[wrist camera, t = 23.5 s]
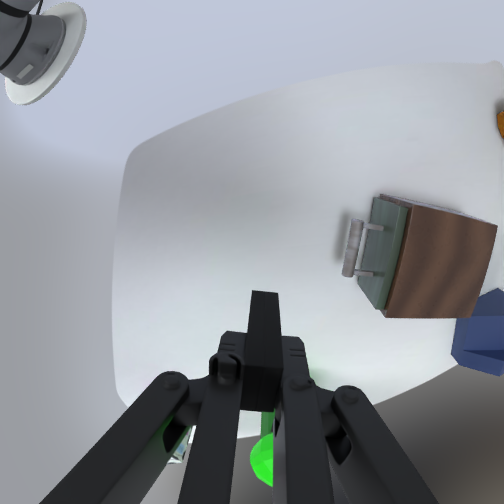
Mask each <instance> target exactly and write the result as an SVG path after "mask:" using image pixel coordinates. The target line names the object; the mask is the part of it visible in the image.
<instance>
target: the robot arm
mask: <svg viewBox="0 0 504 504" xmlns="http://www.w3.org/2000/svg"><path fill="white" fill-rule="evenodd" d="M39 1H40V3H39V6H38V10H37V12H36V15H31V14H29V12H30V11H31V10H32V9H33V7H34V6H35V5H36V4H37V3H38V2H39ZM42 3H43V0H0V73H2V74H3V75H4V76H6V77H7V78H9V79H10V80H11V81H12V82H13V83H15V84H17V85H22V86H27V85H30V84H32V83H34V82H35V81H37V80H38V79H39V78H40V77H41V76H42V75H43V74H44V73H45V72H46V71H47V70H48V69H49V67H50V66H51V65H52V63H53V62H54V60H55V59H56V57H57V55H58V53H59V51H60V49H61V47H62V45H63V42H64V39H65V35H66V23H65V21H64V20H63V19H62V18H60V17H58V16H55V15H39V13H40V9H41V6H42ZM274 408H275V416H274V420H273V424H272V428H271V432H273V498H272V500H273V502H272V504H334V496H333V488H332V481H331V474H330V468H329V461H330V463H331V465H332V468H333V470H334V472H335V474H336V476H337V478H338V480H339V482H340V484H341V487H342V489H343V491H344V493H345V495H346V497H347V499H348V501H349V503H350V504H439V503H438V501H437V500H436V498H435V497H434V495H433V494H432V492H431V491H430V489H429V488H428V487H427V485H426V483H425V482H424V480H423V479H422V477H421V476H420V474H419V473H418V471H417V470H416V468H415V467H414V465H413V464H412V462H411V461H410V460H409V458H408V457H407V455H406V454H405V452H404V451H403V449H402V448H401V446H400V445H399V443H398V442H397V441H396V439H395V437H394V436H393V434H392V433H391V432H390V430H389V429H388V427H387V426H386V424H385V423H384V421H383V420H382V419H381V417H380V415H379V414H378V413H377V411H376V410H375V408H374V407H373V405H372V404H371V402H370V401H369V400H368V398H367V397H366V395H365V394H364V393H363V392H362V391H361V390H360V389H359V388H357V387H354V386H350V385H346V386H341V387H338V388H337V389H336V390H335V392H334V391H330V390H325V389H322V388H320V387H318V386H316V384H315V382H314V380H313V379H312V378H310V375H309V369H308V364H307V358H306V353H305V347H304V343H303V342H302V340H301V339H300V338H299V337H293V336H281V323H280V310H279V298H278V293H274V292H264V291H255V290H252V296H251V304H250V313H249V322H248V331H247V333H242V332H233V331H226V332H225V333H224V334H223V335H222V336H221V340H220V344H219V348H218V352H217V353H216V354H215V355H213V356H212V357H211V358H210V360H209V375H208V376H206V377H204V378H201V379H192V380H188V378H187V377H186V376H185V375H183V374H182V373H180V372H175V371H167V372H164V373H161V374H160V375H158V376H157V377H156V378H155V379H154V380H153V382H152V383H151V384H150V385H149V386H148V387H147V388H146V389H145V390H144V392H143V393H142V394H141V395H140V396H139V397H138V398H137V399H136V400H135V401H134V403H133V404H132V405H131V406H130V407H129V408H128V409H127V410H126V411H125V412H124V413H123V415H122V416H121V417H120V418H119V419H118V420H117V421H116V422H115V423H114V424H113V426H112V427H111V428H110V429H109V430H108V431H107V432H106V433H105V434H104V435H103V436H102V437H101V439H100V440H99V441H98V442H97V443H96V444H95V445H94V446H93V447H92V448H91V449H90V450H89V452H88V453H87V454H86V455H85V456H84V457H83V458H82V459H81V460H80V461H79V462H78V463H77V464H76V466H74V468H73V469H72V470H71V471H70V472H69V473H68V474H67V475H66V476H65V477H64V478H63V479H62V480H61V481H60V482H59V483H58V484H57V486H56V487H55V488H54V489H53V490H52V491H51V492H50V493H49V494H48V495H47V496H46V497H45V498H44V499H43V500H42V501H41V502H40V503H39V504H140V502H141V501H142V500H143V498H144V497H145V495H146V494H147V492H148V491H149V490H150V488H151V487H152V485H153V484H154V482H155V481H156V479H157V478H158V477H159V475H160V474H161V472H162V471H163V469H164V467H165V466H166V464H167V463H168V462H169V460H170V459H171V457H172V456H173V454H174V453H175V451H176V450H177V448H178V446H179V445H180V443H181V442H182V440H183V439H184V437H185V436H186V434H187V433H188V431H189V429H190V428H191V426H194V425H196V429H195V434H194V438H193V442H192V446H191V450H190V454H189V458H188V462H187V466H186V470H185V474H184V478H183V483H182V487H181V491H180V495H179V499H178V504H229V502H230V493H231V485H232V476H233V467H234V458H235V449H236V440H237V431H238V422H239V413H240V410H247V411H258V412H272V413H273V412H274ZM328 459H329V460H328Z"/></svg>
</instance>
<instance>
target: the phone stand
mask: <svg viewBox="0 0 504 504" xmlns="http://www.w3.org/2000/svg"><path fill="white" fill-rule="evenodd" d="M451 355H452V356H453V357H454V359H455V360H456V361H457V362H458V364H459V365H461V366H464V367H468V368H471V369H475V370H478V371H482V372H485V373H489V374H493V375H496V376H500V375H502V374H503V373H504V292H503V291H501V290H500V289H499V288H497V289H495V290H493V291H491V292H488V293H486V294H484V295H482V296H480V297H478V299H477V302H476V305H475V307H474V310H473V313H472V315H471V318H457V320H456V327H455V334H454V340H453V345H452V351H451Z"/></svg>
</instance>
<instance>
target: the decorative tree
mask: <svg viewBox="0 0 504 504" xmlns="http://www.w3.org/2000/svg"><path fill="white" fill-rule="evenodd" d="M497 119H498V127H499V130H500V133H501V135H502V138H504V111H503V112H501V113H499V114H497Z"/></svg>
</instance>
